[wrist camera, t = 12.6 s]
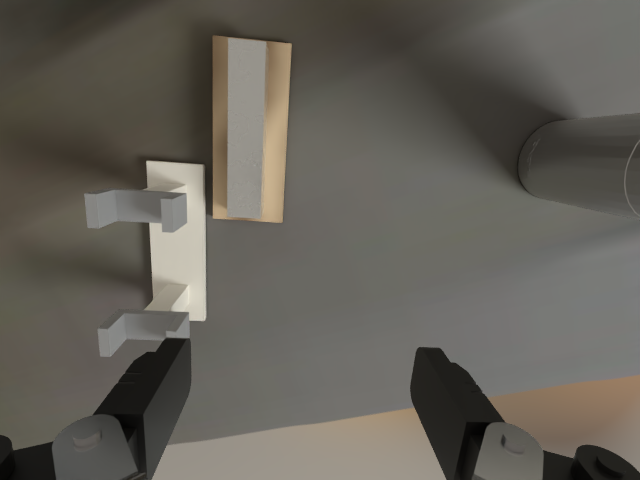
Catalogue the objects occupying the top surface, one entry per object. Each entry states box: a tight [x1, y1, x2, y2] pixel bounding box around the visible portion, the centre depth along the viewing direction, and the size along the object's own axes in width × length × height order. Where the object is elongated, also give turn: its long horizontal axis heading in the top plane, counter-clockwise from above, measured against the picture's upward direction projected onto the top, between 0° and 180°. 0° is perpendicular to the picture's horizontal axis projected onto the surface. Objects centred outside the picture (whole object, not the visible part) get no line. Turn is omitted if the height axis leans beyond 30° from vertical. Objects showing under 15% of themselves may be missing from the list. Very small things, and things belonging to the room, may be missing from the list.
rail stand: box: [85, 161, 206, 357], centre depth 36 cm, size 7×19×12 cm, turn 176°
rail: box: [227, 38, 269, 219], centre depth 36 cm, size 4×17×4 cm, turn 176°
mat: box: [213, 35, 292, 223], centre depth 38 cm, size 8×19×1 cm, turn 176°
